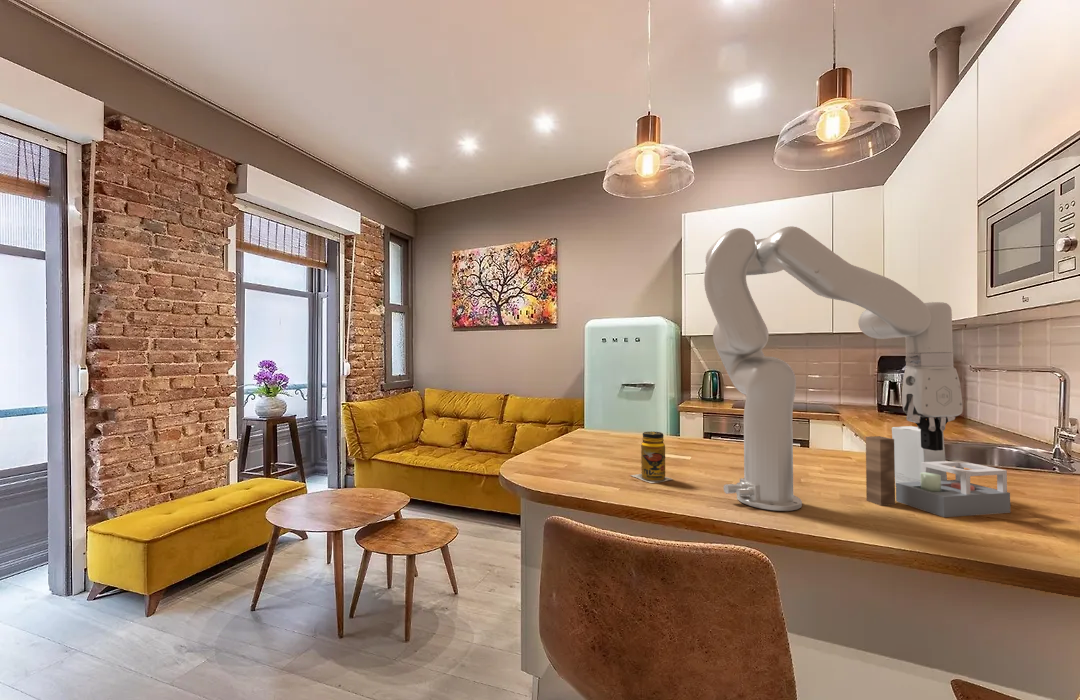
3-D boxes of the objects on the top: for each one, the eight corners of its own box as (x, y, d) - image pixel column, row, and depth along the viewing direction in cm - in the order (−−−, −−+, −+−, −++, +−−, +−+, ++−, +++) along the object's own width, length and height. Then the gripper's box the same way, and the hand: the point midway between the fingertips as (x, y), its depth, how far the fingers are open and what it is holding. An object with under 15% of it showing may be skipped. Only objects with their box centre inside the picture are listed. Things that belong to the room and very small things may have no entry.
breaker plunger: (965, 503, 93) (964, 487, 93) (946, 498, 97) (946, 483, 97) (979, 502, 94) (979, 486, 94) (960, 497, 97) (960, 482, 97)
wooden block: (881, 505, 96) (880, 439, 96) (866, 500, 99) (865, 436, 99) (895, 504, 96) (894, 439, 96) (880, 499, 100) (879, 436, 100)
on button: (932, 494, 92) (931, 476, 92) (916, 490, 95) (916, 472, 95) (945, 494, 93) (944, 476, 93) (929, 489, 96) (929, 472, 96)
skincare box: (948, 495, 103) (947, 430, 103) (925, 496, 102) (924, 430, 102) (913, 485, 111) (912, 424, 111) (891, 486, 110) (890, 425, 110)
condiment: (651, 483, 112) (651, 435, 112) (630, 476, 120) (629, 430, 120) (673, 480, 116) (673, 433, 116) (651, 472, 123) (650, 428, 123)
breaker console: (944, 517, 88) (943, 474, 89) (896, 501, 98) (895, 462, 98) (1010, 512, 91) (1009, 471, 91) (957, 497, 101) (956, 460, 101)
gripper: (916, 362, 90) (919, 454, 89) (978, 361, 92) (981, 451, 92) (882, 362, 97) (884, 447, 97) (940, 361, 99) (943, 444, 99)
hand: (931, 449), depth 94 cm, fingers closed
